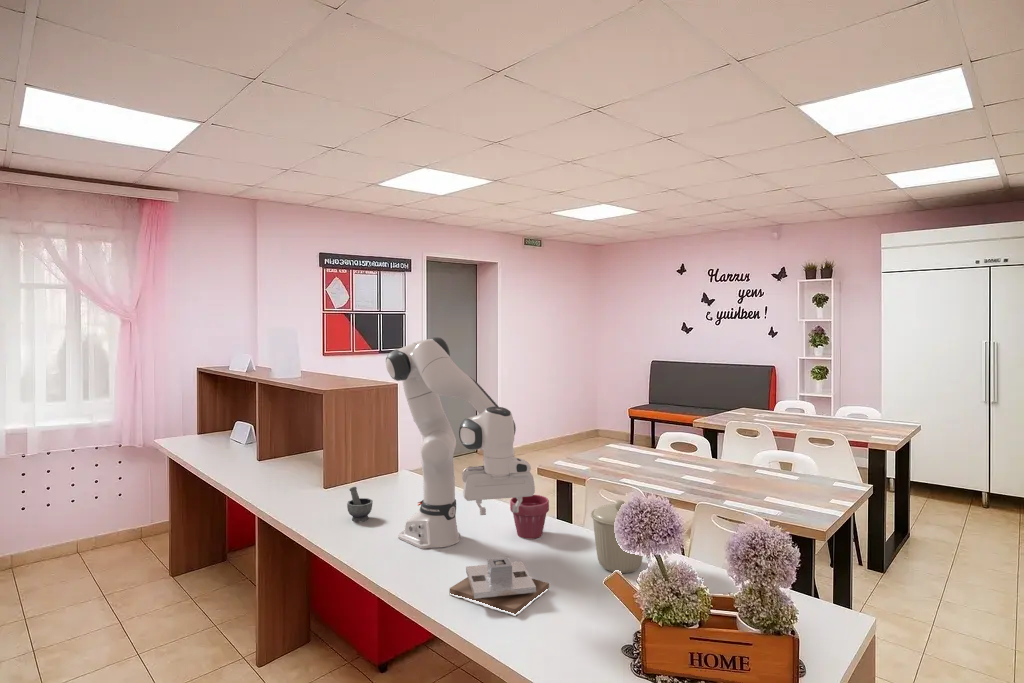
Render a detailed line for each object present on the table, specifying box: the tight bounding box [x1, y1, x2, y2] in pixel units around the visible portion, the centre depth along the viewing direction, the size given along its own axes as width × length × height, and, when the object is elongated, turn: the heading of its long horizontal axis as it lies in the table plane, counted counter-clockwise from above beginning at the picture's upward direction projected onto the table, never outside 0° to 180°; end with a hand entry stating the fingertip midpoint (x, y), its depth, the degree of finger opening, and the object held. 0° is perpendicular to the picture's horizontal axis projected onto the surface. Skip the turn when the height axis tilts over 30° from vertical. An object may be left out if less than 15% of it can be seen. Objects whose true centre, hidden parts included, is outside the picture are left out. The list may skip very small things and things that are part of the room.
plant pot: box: [509, 494, 550, 540], centre depth 207 cm, size 14×14×13 cm
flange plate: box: [465, 556, 536, 599], centre depth 162 cm, size 17×17×6 cm
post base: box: [449, 561, 550, 614], centre depth 162 cm, size 22×18×8 cm
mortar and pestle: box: [346, 486, 374, 523], centre depth 224 cm, size 11×9×12 cm
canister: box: [590, 499, 644, 574], centre depth 179 cm, size 18×18×21 cm
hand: (499, 513), depth 162 cm, fingers open, 8 cm apart
